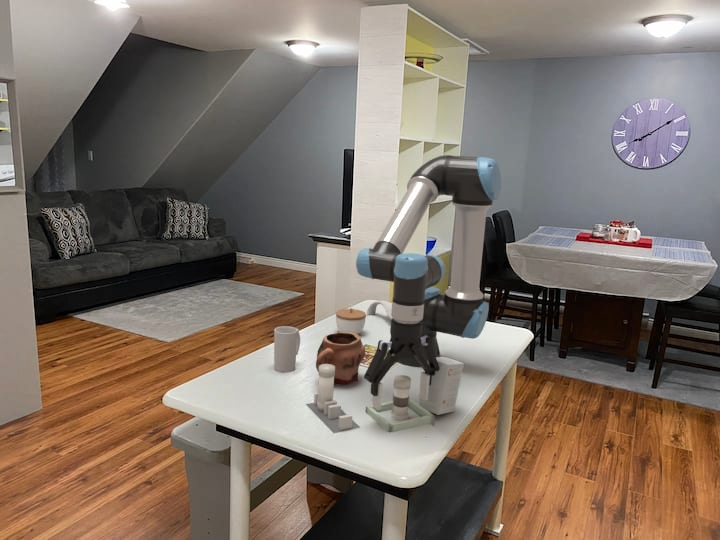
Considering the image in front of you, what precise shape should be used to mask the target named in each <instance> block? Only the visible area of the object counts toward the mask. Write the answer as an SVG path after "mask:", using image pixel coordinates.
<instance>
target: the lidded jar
mask: <svg viewBox="0 0 720 540" xmlns="http://www.w3.org/2000/svg"><path fill="white" fill-rule="evenodd" d="M366 316H367V312H365V311H363V310H359V309H355V308H352V307H351V308H345V309H344V308H342V309H338V310H337V311H336V312H335V323H336V327H337V329H338V331H339V332H344V333H355V334H357V335H359V334H360V333H361V332H362V331H363V329H364V328H365V324H366Z"/></svg>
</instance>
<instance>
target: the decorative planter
mask: <svg viewBox="0 0 720 540" xmlns="http://www.w3.org/2000/svg"><path fill="white" fill-rule="evenodd" d="M316 353H317V354H316V361H315V368H316V371H317V372H318V373H317V374H319V366H320V365H322V364H331V365H334V366H335V376H334V386H335V385H336V386H337V385H338V386H339V385H340V386H344V385H345V386H346V385H349V384H350V385H351V384H353V383H354V382H358V381H359V367H360V365H361V363H362V361H363V360H364V358H365V355H366V348H365V346H364V344H363V342H362V338H361V336H360V335H359V334H358V335H357V334H355V333H344V332H340V331H339V332H334V333H330V334H327V335H325V336H324V337H323V339H322V341H321V343H320V345H319V347H318V350H317V352H316Z"/></svg>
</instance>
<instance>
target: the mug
mask: <svg viewBox="0 0 720 540" xmlns="http://www.w3.org/2000/svg"><path fill="white" fill-rule="evenodd" d="M273 333H274V335H273V341H274V342H273V343H274V344H273V345H274V347H273V350H274V352H273V363H274V365H273V367H274V370H275V371H276V372H280V371H282V372H281V373H289V371H290V372H293V371H294V370H296V361H297V356H298V354H299V350H300V344H301V335H300V331H299V329H298V328H297V327H293V326H284V325H283V326H277V327H276V328H274V332H273Z"/></svg>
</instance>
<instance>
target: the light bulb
mask: <svg viewBox="0 0 720 540" xmlns="http://www.w3.org/2000/svg"><path fill="white" fill-rule="evenodd" d="M393 379H394V380H393V396H392V401H393V409H392V410H391V418H392V419H393V420H395V421H396V422H399V421H404V420H408V418H409V412H408V409H409V407H408V403H409V398H410V388H411V383H412V378H411V377H410V376H408V375H403V374H400V375H399V374H398V375H394V377H393Z"/></svg>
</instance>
